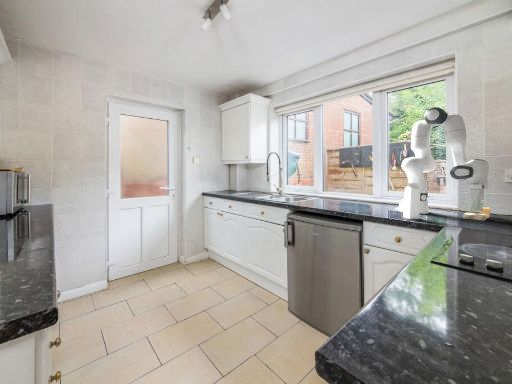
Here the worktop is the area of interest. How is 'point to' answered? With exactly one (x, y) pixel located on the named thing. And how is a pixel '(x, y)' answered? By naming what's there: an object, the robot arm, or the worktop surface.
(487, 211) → the orange block
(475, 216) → the base board
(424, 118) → the robot arm
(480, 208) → the sage block
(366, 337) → the worktop surface
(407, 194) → the milk
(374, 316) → the worktop surface
